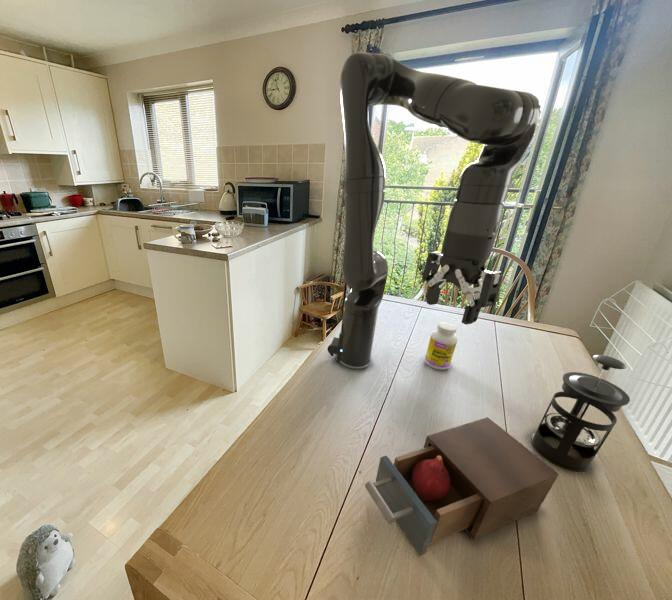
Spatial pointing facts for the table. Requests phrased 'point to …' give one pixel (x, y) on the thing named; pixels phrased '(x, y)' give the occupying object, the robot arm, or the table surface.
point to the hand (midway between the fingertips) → (448, 313)
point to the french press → (580, 417)
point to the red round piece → (431, 479)
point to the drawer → (423, 516)
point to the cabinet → (495, 472)
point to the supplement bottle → (441, 346)
